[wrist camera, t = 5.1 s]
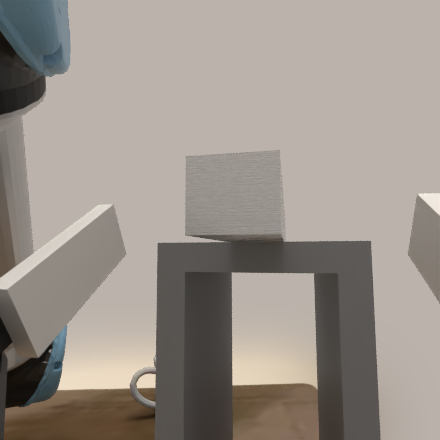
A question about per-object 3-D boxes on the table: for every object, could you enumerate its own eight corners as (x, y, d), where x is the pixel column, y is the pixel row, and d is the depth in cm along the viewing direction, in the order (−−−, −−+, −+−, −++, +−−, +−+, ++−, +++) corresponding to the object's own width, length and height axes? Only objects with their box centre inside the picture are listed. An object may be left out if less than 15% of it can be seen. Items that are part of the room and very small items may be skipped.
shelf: (398, 809, 17) (370, 241, 20) (150, 730, 20) (157, 242, 23) (340, 519, 36) (330, 245, 39) (216, 499, 38) (215, 246, 41)
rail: (281, 234, 11) (279, 150, 12) (185, 235, 12) (186, 156, 12) (285, 245, 37) (284, 219, 37) (254, 245, 37) (254, 220, 38)
